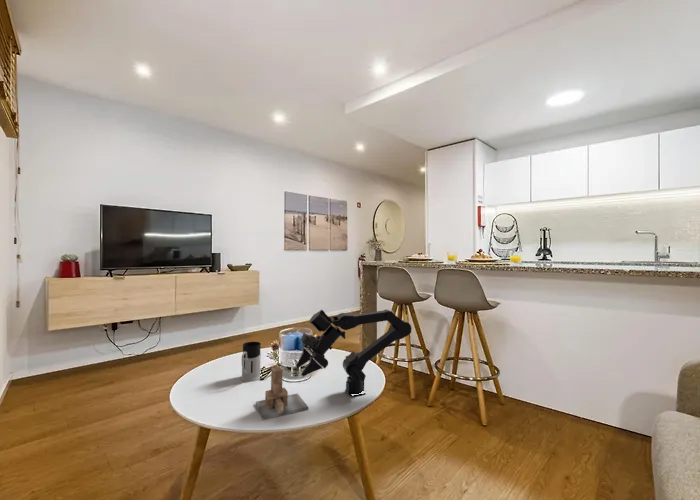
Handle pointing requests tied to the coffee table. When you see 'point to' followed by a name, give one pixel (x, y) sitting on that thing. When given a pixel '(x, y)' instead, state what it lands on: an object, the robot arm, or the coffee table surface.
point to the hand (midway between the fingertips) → (299, 371)
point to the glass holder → (251, 361)
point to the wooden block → (276, 388)
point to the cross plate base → (287, 409)
